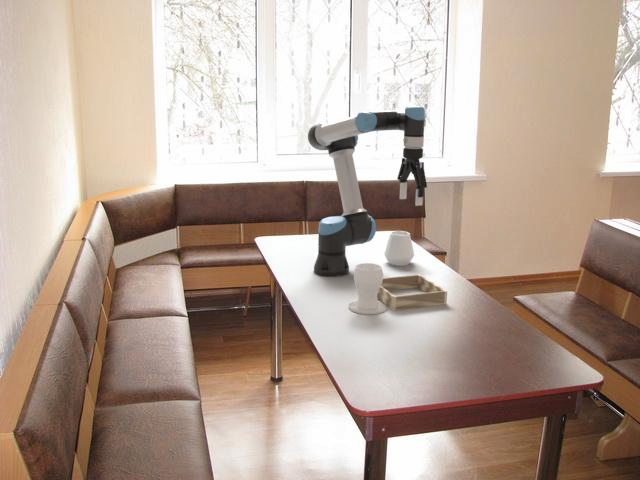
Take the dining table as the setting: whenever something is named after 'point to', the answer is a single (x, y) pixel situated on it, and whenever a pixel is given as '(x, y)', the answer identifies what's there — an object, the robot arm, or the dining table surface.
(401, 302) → the corral
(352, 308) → the disc
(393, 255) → the cup
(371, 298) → the cup
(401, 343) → the dining table surface
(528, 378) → the dining table surface
